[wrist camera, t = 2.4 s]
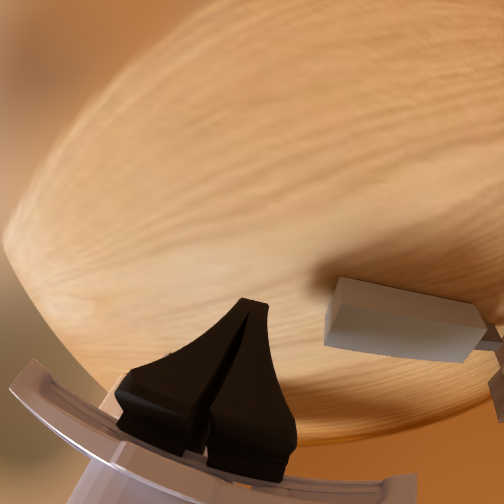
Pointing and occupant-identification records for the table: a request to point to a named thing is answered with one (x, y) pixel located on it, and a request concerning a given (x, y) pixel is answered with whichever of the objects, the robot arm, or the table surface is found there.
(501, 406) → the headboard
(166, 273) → the table surface
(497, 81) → the table surface
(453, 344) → the rail
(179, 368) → the robot arm
